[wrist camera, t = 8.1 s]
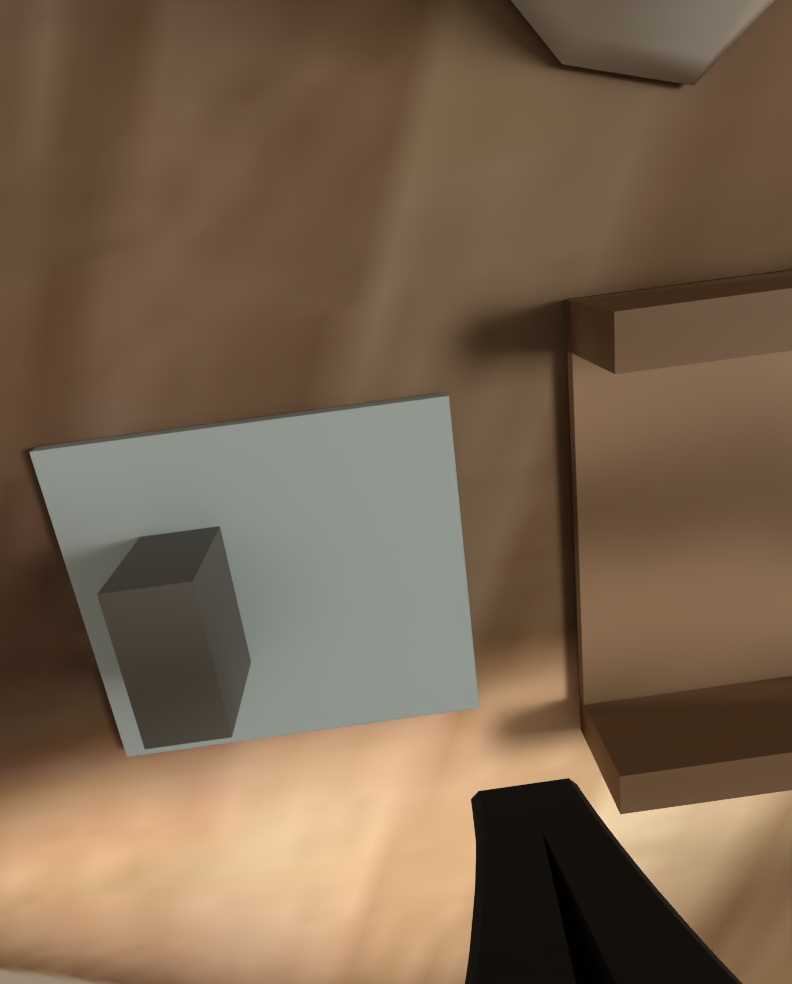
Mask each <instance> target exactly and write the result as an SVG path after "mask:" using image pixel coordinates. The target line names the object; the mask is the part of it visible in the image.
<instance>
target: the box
mask: <svg viewBox="0 0 792 984" xmlns="http://www.w3.org/2000/svg"><path fill="white" fill-rule="evenodd" d="M565 302H566V329H567V357H568V385H569V412H570V440H571V468H572V496H573V523H574V551H575V579H576V606H577V634H578V662H579V689H580V717H581V731H582V733H583V735H584V737H585V739H586V741H587V744H588V746H589V748H590V750H591V752H592V754H593V756H594V759H595V761H596V763H597V765H598V767H599V769H600V771H601V774H602V776H603V778H604V780H605V782H606V784H607V786H608V789H609V791H610V793H611V795H612V797H613V799H614V801H615V803H616V806H617V808H618V810H619V812H620V814H625V813H632V812H639V811H646V810H653V809H660V808H667V807H674V806H681V805H688V804H696V803H703V802H710V801H717V800H724V799H731V798H738V797H745V796H752V795H759V794H766V793H773V792H781V791H788V790H792V270H784V271H777V272H769V273H762V274H754V275H746V276H739V277H731V278H724V279H716V280H709V281H701V282H694V283H686V284H679V285H671V286H664V287H656V288H649V289H641V290H633V291H626V292H618V293H611V294H603V295H596V296H588V297H581V298H573V299H566V300H565Z"/></svg>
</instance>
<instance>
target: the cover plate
mask: <svg viewBox="0 0 792 984" xmlns="http://www.w3.org/2000/svg"><path fill="white" fill-rule="evenodd" d="M29 453H30V456H31V459H32V462H33V465H34V468H35V471H36V474H37V478H38V481H39V484H40V487H41V490H42V493H43V496H44V499H45V503H46V506H47V509H48V512H49V515H50V518H51V521H52V524H53V527H54V531H55V534H56V537H57V540H58V543H59V546H60V549H61V552H62V556H63V559H64V562H65V565H66V568H67V571H68V574H69V577H70V580H71V584H72V587H73V590H74V593H75V596H76V599H77V602H78V605H79V609H80V612H81V615H82V618H83V621H84V624H85V627H86V630H87V633H88V637H89V640H90V643H91V646H92V649H93V652H94V655H95V658H96V662H97V665H98V668H99V671H100V674H101V677H102V680H103V683H104V686H105V690H106V693H107V696H108V699H109V702H110V705H111V708H112V711H113V715H114V718H115V721H116V724H117V727H118V730H119V733H120V736H121V739H122V743H123V746H124V749H125V752H126V755H127V757H130V756H137V755H144V754H151V753H158V752H166V751H173V750H180V749H187V748H194V747H202V746H209V745H216V744H223V743H231V742H238V741H245V740H252V739H259V738H267V737H274V736H281V735H288V734H296V733H303V732H310V731H317V730H324V729H332V728H339V727H346V726H353V725H360V724H368V723H375V722H382V721H389V720H397V719H404V718H411V717H418V716H425V715H433V714H440V713H447V712H454V711H461V710H469V709H476V708H479V701H478V691H477V681H476V671H475V660H474V650H473V640H472V630H471V619H470V609H469V599H468V589H467V578H466V568H465V558H464V548H463V537H462V527H461V517H460V507H459V496H458V486H457V476H456V466H455V455H454V445H453V435H452V424H451V414H450V404H449V396H448V394H447V392H446V393H438V394H431V395H423V396H416V397H408V398H401V399H393V400H386V401H378V402H371V403H363V404H356V405H348V406H341V407H333V408H326V409H318V410H311V411H303V412H296V413H288V414H281V415H273V416H266V417H258V418H251V419H243V420H236V421H228V422H221V423H213V424H206V425H198V426H191V427H183V428H176V429H168V430H161V431H153V432H146V433H138V434H131V435H123V436H116V437H108V438H101V439H93V440H86V441H78V442H71V443H63V444H56V445H48V446H41V447H36V448H35V449H33V450H31V451H30V452H29Z"/></svg>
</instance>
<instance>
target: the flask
mask: <svg viewBox="0 0 792 984" xmlns="http://www.w3.org/2000/svg"><path fill="white" fill-rule="evenodd" d="M511 1H512V3H513V4H514V5H515V6H516V8H517V9H518V10H519V11H520V13H521V14H522V15H523V16H524V17H525V19H526V20H527V21H528V22H529V24H530V25H531V26H532V27H533V29H534V30H535V31H536V32H537V34H538V35H539V36H540V37H541V39H542V40H543V41H544V42H545V44H546V45H547V46H548V47H549V49H550V50H551V51H552V52H553V54H554V55H555V56H556V57H557V59H558V60H559V61H560V62H561V64H563V65H569V66H576V67H582V68H588V69H594V70H600V71H607V72H613V73H619V74H625V75H631V76H638V77H644V78H650V79H656V80H662V81H669V82H675V83H681V84H687V85H694V84H695V83H696V82H697V81H698V80H699V79H700V78H701V77H702V76H703V75H704V74H705V73H706V72H707V71H708V70H709V69H710V68H711V67H712V66H713V65H714V63H715V62H716V61H717V60H718V59H719V58H720V57H721V56H722V55H723V54H724V53H725V52H726V51H727V50H728V49H729V48H730V47H731V46H732V45H733V44H734V43H735V42H736V41H737V40H738V39H739V38H740V36H741V35H742V34H743V33H744V32H745V31H746V30H747V29H748V28H749V27H750V26H751V25H752V24H753V23H754V22H755V21H756V20H757V19H758V18H759V17H760V16H761V15H762V14H763V13H764V12H765V11H766V9H767V8H768V7H769V6H770V5H771V4H772V3H773V2H774V1H775V0H511Z"/></svg>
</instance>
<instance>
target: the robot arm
mask: <svg viewBox="0 0 792 984" xmlns="http://www.w3.org/2000/svg"><path fill="white" fill-rule="evenodd" d="M471 802H472V811H473V820H474V828H475V837H476V878H475V896H474V908H473V919H472V931H471V942H470V952H469V960H468V967H467V974H466V981H465V984H742V983H741V982H740V981H739V980H738V979H737V977H736V976H735V975H734V974H733V973H732V972H731V971H730V970H729V969H728V968H727V967H726V966H725V965H724V964H723V963H722V962H721V961H720V960H719V958H718V957H717V956H716V955H715V954H714V953H713V952H712V951H711V950H710V949H709V948H708V946H707V945H706V944H705V943H704V942H703V941H702V940H701V939H700V938H699V937H698V935H697V934H696V933H695V932H694V931H693V930H692V929H691V928H690V926H689V925H688V924H687V923H686V922H685V921H684V919H683V918H682V917H681V916H680V915H679V914H678V913H677V911H676V910H675V909H674V908H673V907H672V906H671V905H670V903H669V902H668V901H667V900H666V899H665V898H664V896H663V895H662V894H661V893H660V892H659V891H658V890H657V888H656V887H655V886H654V885H653V884H652V882H651V881H650V880H649V879H648V878H647V876H646V875H645V874H644V873H643V872H642V870H641V869H640V868H639V867H638V866H637V864H636V863H635V862H634V861H633V859H632V858H631V857H630V856H629V854H628V853H627V852H626V850H625V849H624V848H623V847H622V845H621V844H620V843H619V842H618V840H617V839H616V838H615V837H614V835H613V834H612V833H611V831H610V830H609V829H608V827H607V826H606V825H605V823H604V822H603V821H602V819H601V818H600V817H599V815H598V814H597V813H596V811H595V810H594V808H593V807H592V806H591V804H590V803H589V801H588V800H587V799H586V797H585V796H584V794H583V793H582V791H581V790H580V788H579V787H578V785H577V784H576V783H574V782H573V781H571V780H570V779H569V778H568V779H561V780H554V781H547V782H540V783H533V784H526V785H519V786H512V787H505V788H498V789H491V790H484V791H478V793H477V794H476V795H475V796H474V797H473V798H472V799H471Z"/></svg>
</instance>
